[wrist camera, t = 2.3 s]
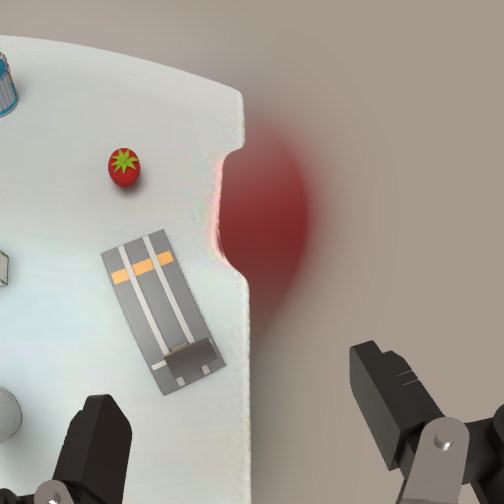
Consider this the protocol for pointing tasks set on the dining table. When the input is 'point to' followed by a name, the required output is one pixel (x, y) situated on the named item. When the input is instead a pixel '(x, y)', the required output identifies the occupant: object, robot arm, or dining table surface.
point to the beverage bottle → (6, 88)
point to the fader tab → (189, 357)
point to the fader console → (158, 305)
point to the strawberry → (124, 167)
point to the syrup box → (3, 268)
